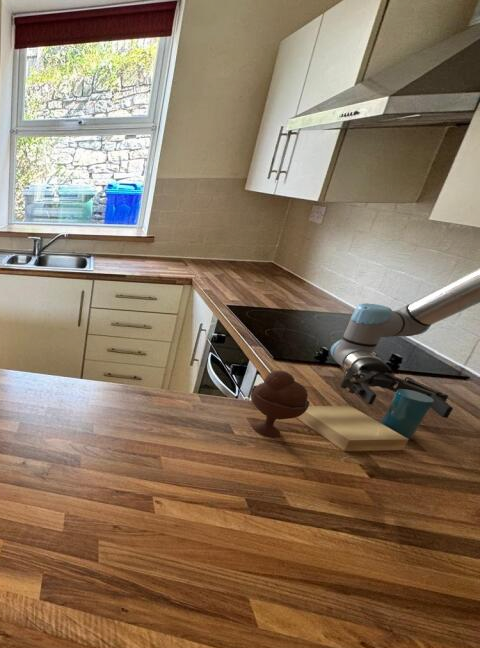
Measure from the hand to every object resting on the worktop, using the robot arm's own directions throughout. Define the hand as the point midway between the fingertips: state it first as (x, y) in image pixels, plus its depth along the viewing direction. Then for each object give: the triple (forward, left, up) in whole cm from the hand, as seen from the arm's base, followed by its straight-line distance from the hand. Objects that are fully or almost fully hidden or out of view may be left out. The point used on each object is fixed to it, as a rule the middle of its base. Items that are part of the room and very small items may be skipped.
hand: (409, 406), depth 93 cm
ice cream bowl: (+1, +32, -7) cm, 33 cm away
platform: (0, +13, -7) cm, 15 cm away
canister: (0, 0, -7) cm, 7 cm away
